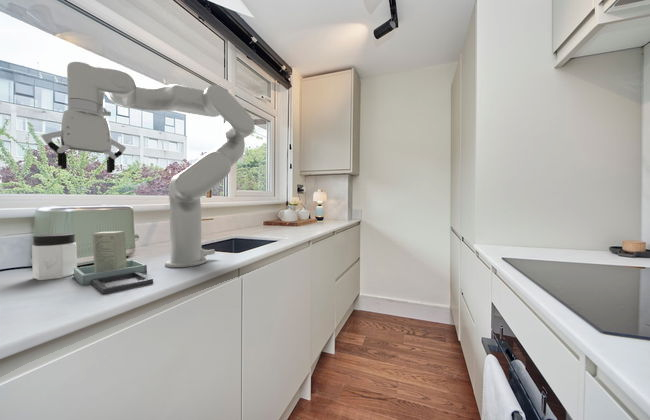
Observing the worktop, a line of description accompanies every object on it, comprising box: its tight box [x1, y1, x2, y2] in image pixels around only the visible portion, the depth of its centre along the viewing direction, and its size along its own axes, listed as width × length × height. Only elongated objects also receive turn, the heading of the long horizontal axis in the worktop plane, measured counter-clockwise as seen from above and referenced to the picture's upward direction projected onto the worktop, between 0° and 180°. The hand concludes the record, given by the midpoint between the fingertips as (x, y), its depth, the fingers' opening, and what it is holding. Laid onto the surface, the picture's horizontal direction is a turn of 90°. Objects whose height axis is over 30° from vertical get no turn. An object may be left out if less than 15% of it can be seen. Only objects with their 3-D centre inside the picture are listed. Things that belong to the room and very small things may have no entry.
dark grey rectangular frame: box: [90, 271, 154, 295], centre depth 65 cm, size 10×12×1 cm
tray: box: [73, 259, 148, 286], centre depth 73 cm, size 14×12×2 cm
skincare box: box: [92, 230, 127, 273], centre depth 73 cm, size 6×4×12 cm
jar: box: [31, 232, 78, 281], centre depth 72 cm, size 9×8×12 cm
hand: (88, 170), depth 72 cm, fingers open, 9 cm apart
